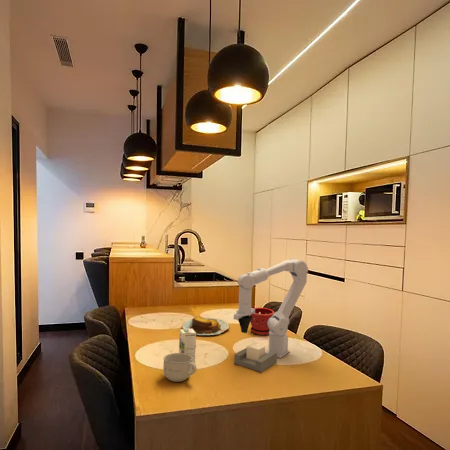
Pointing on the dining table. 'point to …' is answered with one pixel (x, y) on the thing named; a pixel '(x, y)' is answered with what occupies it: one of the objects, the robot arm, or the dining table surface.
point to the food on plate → (206, 325)
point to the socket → (256, 365)
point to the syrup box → (187, 342)
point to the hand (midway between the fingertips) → (244, 332)
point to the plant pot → (261, 320)
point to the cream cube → (255, 351)
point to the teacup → (178, 366)
